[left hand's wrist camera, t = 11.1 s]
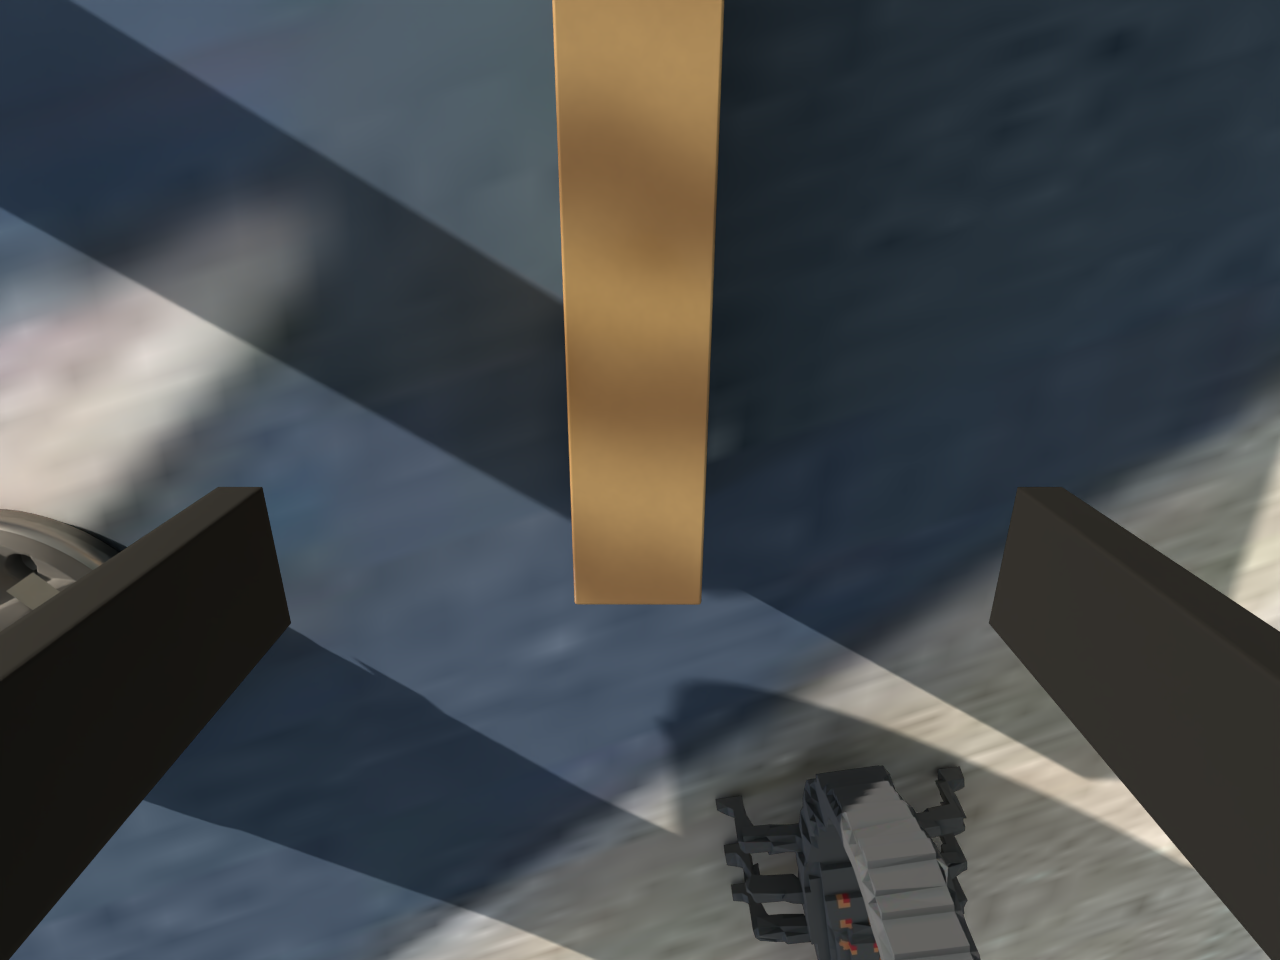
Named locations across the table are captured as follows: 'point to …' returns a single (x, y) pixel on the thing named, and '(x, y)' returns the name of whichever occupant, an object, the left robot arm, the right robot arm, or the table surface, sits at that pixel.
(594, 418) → the beam
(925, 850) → the toy
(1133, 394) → the table surface
